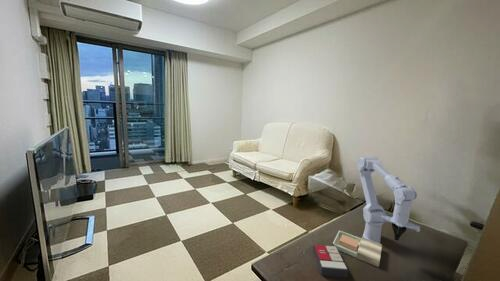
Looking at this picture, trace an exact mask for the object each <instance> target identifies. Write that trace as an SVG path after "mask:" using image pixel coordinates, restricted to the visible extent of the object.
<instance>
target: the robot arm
mask: <svg viewBox="0 0 500 281" xmlns="http://www.w3.org/2000/svg"><path fill="white" fill-rule="evenodd" d="M356 166H357V170H358V173H359V178H360V182H361V186H362V189H363V195H364V198H365V202H366V205H365V206H364V207H363V208H362V211H363V219H364V222H365V226H364V231H363V234H362V237H363V238H366V239H368V240H371V241H374V242H377V243H379V244H381V236H382V234H381V232H382V225H384V223H386V222H387V223H391V228H392V231H393V234H394V240H395V241H398V242H399V240H400V238H401V237H402V236H403V234H404V233H405V232H406V231H407V229H410V230H413V231H415V232H417V233H420V232H421V225H420V226H419V225H417V224H414V223H412V222H409V218H410V214H411V213H410V212H411V208H412V202H413V201H414V200H416V199H417V197H418V196H417V195H418V194H417V192H416V189H414V187H412V186H409V185H406V184H405V183H404V182H403V181H402V180H401V179H400V178H399V176H398V175H394V174H391V173H390V172H389V171H388V170H387V168H385V167H384V165H383V164H382V161H381V160H380V159H379V157H378V156H374V157H372V156H369V157H367V156H366V157H364V156H361V157H359V158H358V159H357V161H356ZM374 172H376V173H377V174H378V176H380V177H382V179H384V183H385V185H386V186H387V187H388V188H389V189H390V190H391V191H392V192H393V196H394V203H395V204H394V209H393V214H392V216H388V215H387V213H386V211H385V210H384V207H383V206H382V205H380V204H379V202H378V199H377V195H376V190H375V188H374V183H373V179H372V174H373V173H374Z"/></svg>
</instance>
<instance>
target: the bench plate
mask: <svg viewBox="0 0 500 281" xmlns="http://www.w3.org/2000/svg"><path fill="white" fill-rule="evenodd" d="M360 238H361V241H360V244H359V248H358V251H357V256H356V259H358V260H360V261H362V262H365V263H368V264H370V265H372V266H374V267H377V268H380V261H381V255H382V254H381V253H382V250H383V249H382V248H383V244H381V243H380V244H379V243H377V242H374V241H371V240H368V239H366V238H363V236H361V237H360Z"/></svg>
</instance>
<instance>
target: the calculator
mask: <svg viewBox="0 0 500 281" xmlns="http://www.w3.org/2000/svg"><path fill="white" fill-rule="evenodd" d="M312 251H313V254H314V258H315V261H316V265H317V267H318V271H319V275H320V276H323V275H325V276H326V277H335V278H348V277H349V269H348V267H347V264H346V263H345V261H344V260H343V257H342V255H341V254H340V251H339V250H337V248H336V247H334V246H332V245H331V246H330V245H321V244H314V245H312Z"/></svg>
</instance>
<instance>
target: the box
mask: <svg viewBox="0 0 500 281" xmlns="http://www.w3.org/2000/svg"><path fill="white" fill-rule="evenodd" d="M342 235H345V236H347V237H350V238H353V239H355V240H358V241H359V244H360V241H361V238H362V237H359V236H356V235H353V234H351V233H348V232H345V231H341V230H338V232H337V234H336V235H335V238H334V240H333V242H332V244H331V246H334V247H336V248H337V250H338V252H341V253H344V254H346V255H349V256H351V257H353V258H356V256H357V252H355V251H353V250H350V249H348V248H345V247H343V246H341V245H339V241H340V238H341V236H342ZM358 248H359V245H358ZM358 248H357V251H358ZM356 259H357V258H356Z"/></svg>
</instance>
